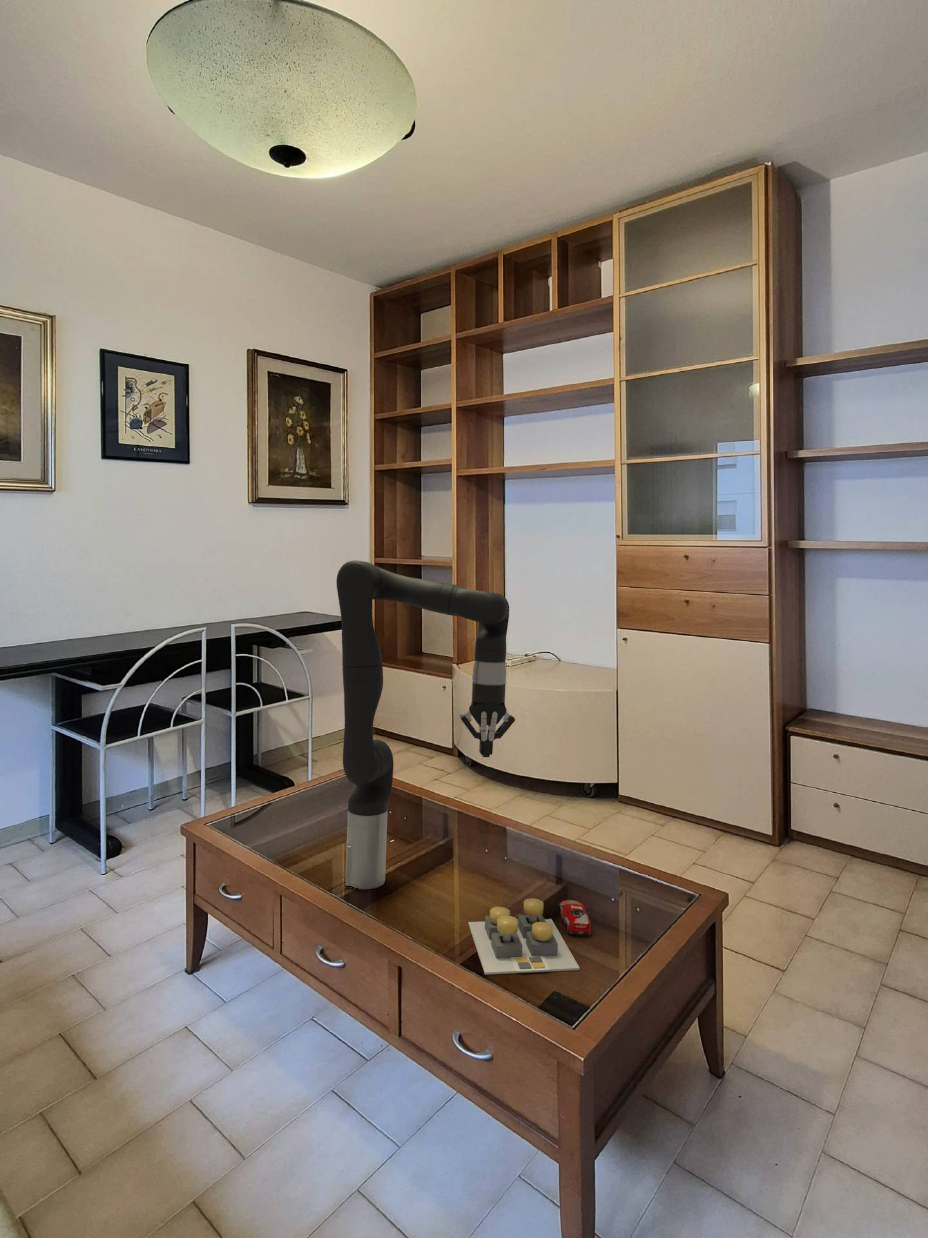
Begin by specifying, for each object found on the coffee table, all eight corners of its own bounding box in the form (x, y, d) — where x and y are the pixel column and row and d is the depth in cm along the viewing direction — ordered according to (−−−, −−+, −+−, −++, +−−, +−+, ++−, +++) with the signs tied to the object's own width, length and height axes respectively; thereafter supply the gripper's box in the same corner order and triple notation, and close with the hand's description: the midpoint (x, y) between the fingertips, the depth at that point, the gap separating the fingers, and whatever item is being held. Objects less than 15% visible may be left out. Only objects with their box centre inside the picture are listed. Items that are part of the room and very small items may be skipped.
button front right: (533, 954, 136) (535, 932, 135) (528, 943, 140) (529, 922, 139) (554, 953, 136) (555, 931, 136) (548, 942, 140) (549, 921, 140)
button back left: (491, 937, 141) (492, 916, 141) (487, 927, 145) (488, 907, 145) (510, 936, 142) (511, 915, 142) (506, 926, 146) (507, 906, 146)
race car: (557, 908, 157) (558, 891, 157) (581, 909, 157) (582, 892, 157) (566, 938, 144) (567, 919, 144) (592, 939, 144) (593, 920, 144)
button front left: (498, 948, 134) (499, 926, 134) (494, 937, 138) (495, 916, 138) (519, 947, 135) (520, 925, 135) (514, 936, 139) (515, 915, 139)
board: (485, 976, 129) (485, 961, 128) (468, 924, 148) (468, 911, 148) (580, 971, 131) (581, 956, 131) (551, 921, 151) (552, 908, 150)
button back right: (525, 928, 142) (526, 907, 142) (520, 919, 146) (521, 898, 146) (544, 927, 143) (545, 907, 143) (539, 918, 147) (540, 898, 147)
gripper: (462, 682, 155) (459, 760, 156) (521, 684, 157) (517, 761, 158) (457, 678, 162) (454, 752, 163) (513, 679, 164) (510, 752, 165)
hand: (485, 756), depth 161 cm, fingers closed
